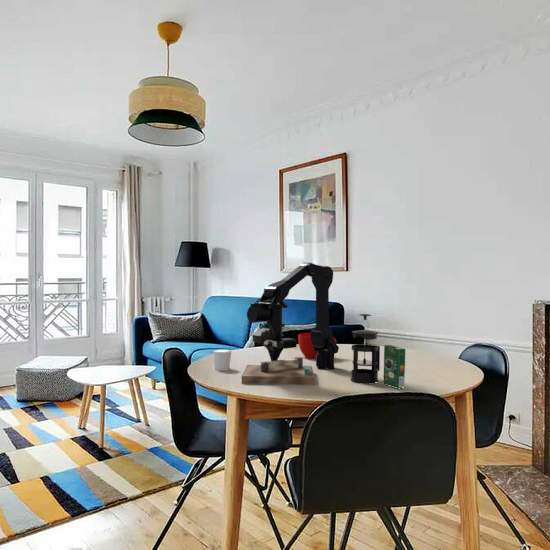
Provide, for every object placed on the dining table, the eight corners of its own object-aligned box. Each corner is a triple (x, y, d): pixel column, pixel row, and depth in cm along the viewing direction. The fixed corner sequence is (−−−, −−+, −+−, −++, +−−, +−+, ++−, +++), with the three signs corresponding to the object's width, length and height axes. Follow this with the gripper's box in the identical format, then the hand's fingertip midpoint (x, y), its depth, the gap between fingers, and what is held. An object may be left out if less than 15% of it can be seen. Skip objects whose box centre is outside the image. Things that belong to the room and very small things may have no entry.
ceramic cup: (337, 360, 201) (338, 337, 201) (298, 359, 202) (298, 336, 202) (334, 355, 214) (334, 333, 214) (297, 354, 215) (297, 332, 215)
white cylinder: (216, 371, 175) (216, 352, 175) (210, 368, 181) (210, 349, 181) (233, 369, 178) (233, 351, 178) (227, 366, 184) (227, 348, 184)
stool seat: (311, 372, 174) (311, 360, 174) (314, 385, 154) (314, 371, 154) (247, 371, 175) (247, 359, 175) (241, 383, 155) (241, 369, 155)
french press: (362, 385, 154) (363, 315, 155) (343, 380, 162) (344, 313, 162) (387, 381, 161) (388, 314, 161) (368, 376, 169) (368, 312, 169)
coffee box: (405, 389, 150) (406, 348, 150) (398, 389, 149) (398, 348, 149) (390, 383, 158) (390, 344, 158) (382, 384, 156) (383, 345, 156)
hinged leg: (298, 365, 174) (299, 356, 174) (304, 366, 171) (304, 358, 171) (258, 370, 163) (259, 361, 163) (264, 372, 160) (264, 363, 160)
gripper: (241, 319, 170) (240, 362, 170) (272, 325, 155) (271, 372, 155) (265, 317, 176) (265, 359, 177) (297, 323, 161) (297, 368, 162)
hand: (273, 364), depth 167 cm, fingers closed
